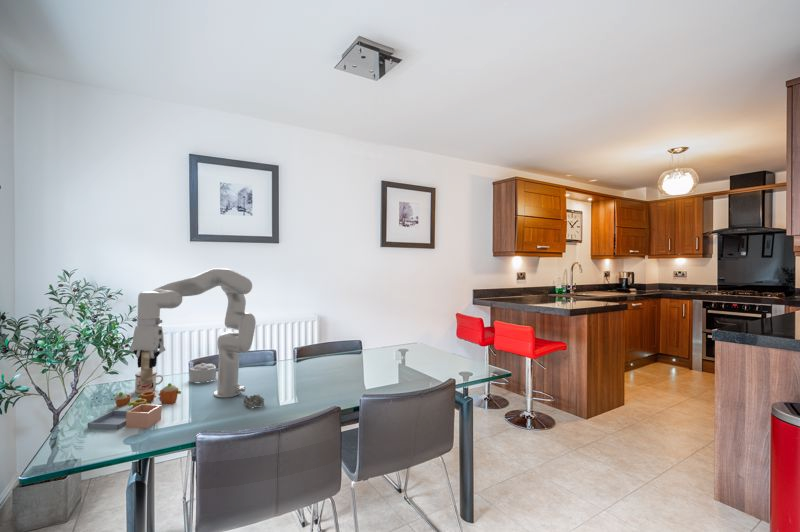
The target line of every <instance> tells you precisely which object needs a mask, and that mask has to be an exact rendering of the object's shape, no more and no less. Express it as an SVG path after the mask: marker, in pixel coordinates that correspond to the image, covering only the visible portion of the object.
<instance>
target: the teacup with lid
mask: <svg viewBox="0 0 800 532" xmlns="http://www.w3.org/2000/svg"><path fill="white" fill-rule="evenodd" d="M134 376H135V386H134V392H135V393H136V394H142V393H144V392H150V391H152V392H155V390H156V386H157V385H160V384H162V382H163V381H164V377H163V375H162V374H158V373H157V371H156V370H155V369H153V374H152V383H151V384H147V385H141V384H140V379H141V370H140V371H137V372H136V373H135V375H134ZM157 377H160V378H161V379H160V381H158V382H157Z"/></svg>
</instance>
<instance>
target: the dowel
mask: <svg viewBox="0 0 800 532" xmlns="http://www.w3.org/2000/svg"><path fill="white" fill-rule="evenodd" d="M150 358H151V353H150V351H142V352H141V367H140V371H141V379H140V384H141V385H147V384H151V383H152V374H153V370H154V369H153V368H154V367H153V368H149V362H150Z"/></svg>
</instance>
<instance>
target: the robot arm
mask: <svg viewBox="0 0 800 532" xmlns="http://www.w3.org/2000/svg"><path fill="white" fill-rule="evenodd" d="M216 287H220V288H221V290H222V291H223V292H224V293H225V295H226V297H227V309H226V313H225V318H224V326H225V328H227V329H229V330H234V331H238V332H233V331H224V332H222V333H220V335H219V336H218V338H217V343H216V344H217V350H218V366H217V367H218V369H217V371H218V372H217V389H216V390H214V392H213V396H214V397H216V398H221V399H224V398H226V399H227V398H232V397H233V398H234V397H236V396H238V395H240V394H241V393H242V392H243V393H244V392H246V390H247V389H246V386H241V384H240V383H239V370H240V369H239V368H240V366H239V365H240V356H239V354H245V353H248V352H249V351H250V349H251V348H252V345H253V340H254V335H255V329H256V326H257V325H256V323H257V322H256V317H255V316H254V314H253V313H251V312H246V311H245V310H246V304H247V300H246V297H245V295H247V294H249V293H250V292H252V289H253V283H252V281H251V280H250V278H248V277H246V276H244V275H242V274H241V273H239V272H237V271H235V270H233V269H229V268H218V267H215V268H212V269H211V268H210V269H208V270H207V271H203V272H201V273H198V274H197V275H194V276H192V277H190V278H189V277H188V278H185V279H182V280H177V281H172V282H170V283H167V284H164V285H162V286H159V287H157V288H155V289H153V290H151V291H142V292H139V293H138V296H137V297H138V298H137V320H136V321H137V324H136V325H135V328H134V331H133V337H132V344H131V345H130V346H129V351H131V352H132V353H133V354H134V355H135V357H136V358H137V368H138V369H139V368H140V369H141V352H142V351H150V353H151V358H150V362H149V368H155V367H156V366H157V361H158V360H157V358H158V357H159V356H160V355H161V354H162V353H163V352H166V348H165V345H164V343H165V342H164V331H163V330H164V329H163V327H162V325H161V324H163V320H162V319H161V318H160V317H161V315H160V312H161V309H169V310H170V309H175V308H178V307H180V305H181V304H182V302H183V298H184V297H192V296H193V297H194V296H198V295H202V294H204V293H206V292H207V291H210V290H212V289H214V288H216ZM158 349H159V350H158Z"/></svg>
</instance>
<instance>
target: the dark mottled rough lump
mask: <svg viewBox="0 0 800 532" xmlns="http://www.w3.org/2000/svg"><path fill="white" fill-rule="evenodd" d="M242 396H243V397H244V399H243V402H242V403H243V405H245V406H246V405H247V406H246V407H248V408H249V407H250V408H249V409H252V407H255V406H262V405H263V406H264V405H265V398H263V396H261V395H260V394H259V393H258V394H253V395H250V396H249V397H248V395H245V394H243V395H242ZM263 406H262V407H263ZM255 408H256V407H255Z"/></svg>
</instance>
